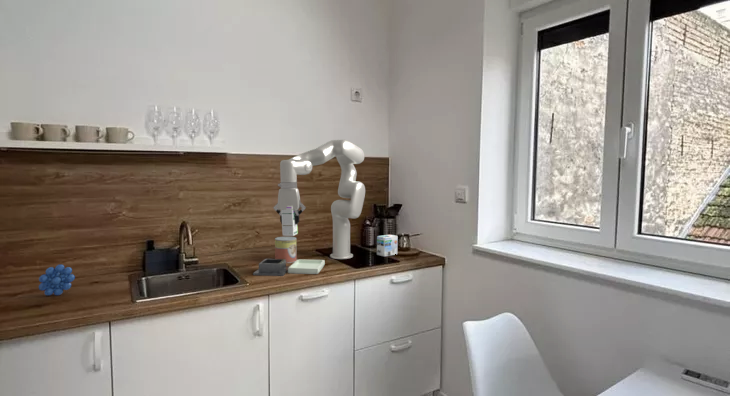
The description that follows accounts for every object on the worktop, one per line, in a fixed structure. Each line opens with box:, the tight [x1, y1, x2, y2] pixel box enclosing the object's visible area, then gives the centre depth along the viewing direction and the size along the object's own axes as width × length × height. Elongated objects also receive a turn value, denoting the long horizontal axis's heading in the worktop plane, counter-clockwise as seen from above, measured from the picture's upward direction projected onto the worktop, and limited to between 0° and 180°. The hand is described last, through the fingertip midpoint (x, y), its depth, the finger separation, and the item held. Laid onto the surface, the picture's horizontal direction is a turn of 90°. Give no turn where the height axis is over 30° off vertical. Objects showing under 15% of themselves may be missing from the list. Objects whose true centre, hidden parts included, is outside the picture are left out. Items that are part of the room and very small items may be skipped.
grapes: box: [38, 264, 76, 296], centre depth 158 cm, size 12×7×12 cm, turn 113°
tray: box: [287, 258, 326, 275], centre depth 201 cm, size 18×14×2 cm
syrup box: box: [280, 205, 299, 237], centre depth 196 cm, size 6×6×14 cm
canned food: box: [274, 236, 298, 264], centre depth 217 cm, size 11×11×12 cm
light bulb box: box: [376, 234, 399, 257], centre depth 234 cm, size 11×7×11 cm, turn 131°
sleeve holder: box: [252, 258, 291, 277], centre depth 195 cm, size 14×14×5 cm
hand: (289, 223), depth 196 cm, fingers closed on syrup box, 6 cm apart
